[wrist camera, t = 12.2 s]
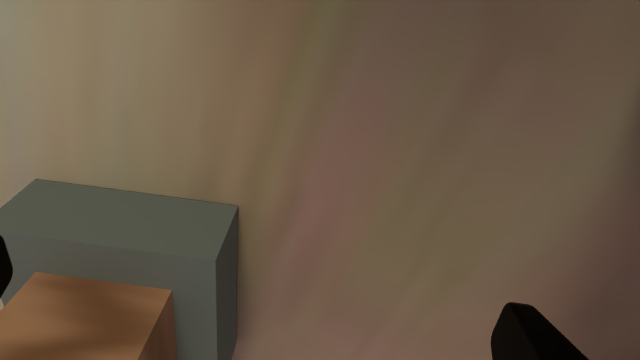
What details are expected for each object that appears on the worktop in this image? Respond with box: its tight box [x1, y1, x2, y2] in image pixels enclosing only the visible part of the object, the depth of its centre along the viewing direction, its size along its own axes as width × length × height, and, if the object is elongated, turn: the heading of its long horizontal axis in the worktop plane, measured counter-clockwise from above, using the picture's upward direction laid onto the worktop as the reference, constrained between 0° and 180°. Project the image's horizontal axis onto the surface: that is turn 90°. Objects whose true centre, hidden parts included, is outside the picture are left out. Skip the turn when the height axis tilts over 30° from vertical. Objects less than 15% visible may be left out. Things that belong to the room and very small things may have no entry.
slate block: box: [0, 179, 238, 360], centre depth 23 cm, size 10×10×4 cm
